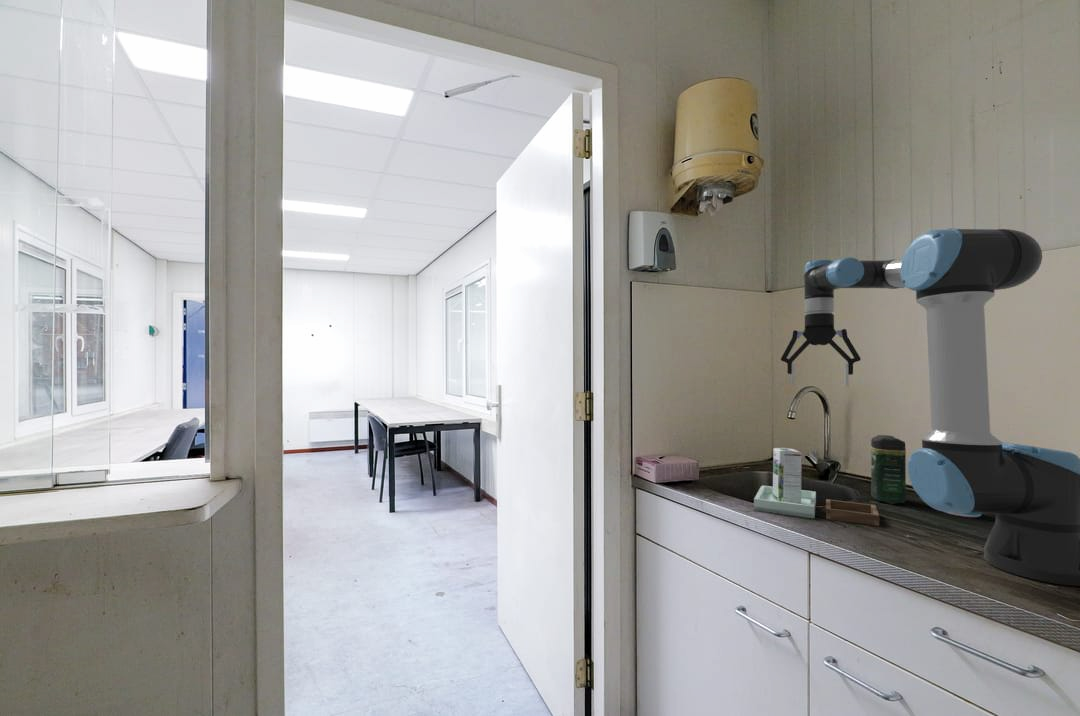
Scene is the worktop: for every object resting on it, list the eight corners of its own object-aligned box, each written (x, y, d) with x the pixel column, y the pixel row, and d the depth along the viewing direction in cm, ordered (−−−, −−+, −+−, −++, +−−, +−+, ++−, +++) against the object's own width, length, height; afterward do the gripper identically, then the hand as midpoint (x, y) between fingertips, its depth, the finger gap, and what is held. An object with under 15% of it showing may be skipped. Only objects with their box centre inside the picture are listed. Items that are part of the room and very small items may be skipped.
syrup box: (772, 499, 137) (771, 447, 138) (794, 500, 137) (794, 448, 137) (779, 505, 132) (779, 450, 132) (802, 506, 131) (802, 451, 131)
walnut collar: (879, 526, 118) (879, 515, 118) (826, 518, 123) (826, 508, 123) (875, 514, 127) (875, 504, 127) (826, 508, 133) (826, 499, 133)
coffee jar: (909, 506, 136) (908, 438, 136) (875, 502, 139) (874, 436, 139) (900, 497, 144) (900, 434, 145) (868, 494, 148) (868, 432, 148)
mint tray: (814, 518, 123) (814, 506, 123) (754, 510, 130) (754, 498, 130) (815, 502, 139) (815, 491, 139) (761, 495, 146) (761, 485, 146)
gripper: (869, 312, 141) (869, 386, 141) (773, 316, 154) (773, 384, 154) (871, 309, 135) (871, 387, 135) (771, 314, 148) (771, 385, 147)
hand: (819, 385), depth 144 cm, fingers open, 13 cm apart
